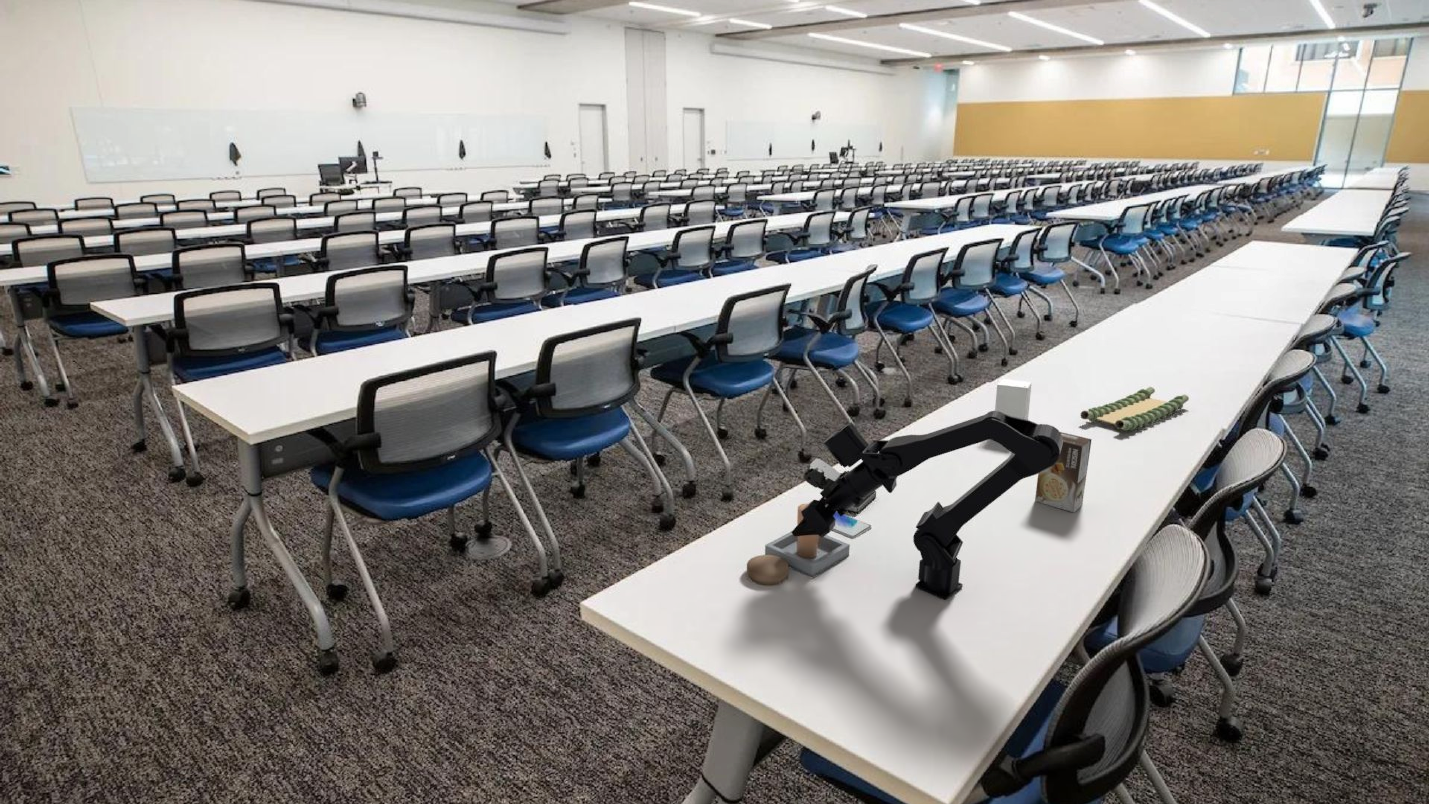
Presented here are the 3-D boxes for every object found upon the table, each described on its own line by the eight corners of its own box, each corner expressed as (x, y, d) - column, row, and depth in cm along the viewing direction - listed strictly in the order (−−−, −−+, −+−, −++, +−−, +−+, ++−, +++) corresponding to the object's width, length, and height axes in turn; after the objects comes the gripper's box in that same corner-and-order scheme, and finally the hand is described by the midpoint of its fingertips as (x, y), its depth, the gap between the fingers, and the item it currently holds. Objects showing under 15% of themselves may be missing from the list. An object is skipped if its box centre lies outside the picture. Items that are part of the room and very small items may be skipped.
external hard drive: (876, 499, 186) (877, 491, 185) (857, 516, 177) (857, 508, 176) (849, 492, 189) (849, 484, 189) (829, 509, 181) (829, 501, 180)
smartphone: (853, 537, 166) (797, 515, 176) (853, 541, 167) (797, 518, 176) (873, 525, 171) (817, 504, 181) (872, 528, 171) (817, 507, 181)
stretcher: (1124, 439, 222) (1126, 422, 220) (1075, 425, 233) (1077, 409, 231) (1190, 410, 245) (1193, 395, 243) (1143, 399, 256) (1145, 384, 254)
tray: (849, 555, 160) (849, 544, 159) (812, 577, 152) (812, 566, 151) (802, 535, 168) (802, 525, 167) (765, 556, 160) (765, 545, 159)
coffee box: (1083, 504, 182) (1094, 438, 177) (1073, 513, 177) (1083, 446, 172) (1043, 492, 188) (1052, 429, 183) (1033, 501, 183) (1041, 436, 178)
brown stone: (796, 574, 153) (796, 565, 152) (769, 590, 148) (769, 580, 147) (765, 559, 158) (765, 550, 158) (738, 574, 153) (738, 565, 152)
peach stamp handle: (822, 555, 159) (824, 510, 155) (804, 560, 157) (805, 515, 153) (810, 545, 162) (811, 501, 159) (792, 550, 160) (793, 506, 157)
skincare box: (1027, 434, 225) (1033, 382, 220) (1021, 441, 219) (1028, 388, 215) (996, 429, 229) (1002, 377, 224) (990, 436, 224) (996, 383, 219)
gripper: (845, 435, 159) (792, 476, 167) (813, 468, 143) (756, 511, 151) (882, 478, 158) (827, 517, 166) (853, 516, 142) (794, 557, 150)
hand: (801, 524), depth 158 cm, fingers open, 9 cm apart
